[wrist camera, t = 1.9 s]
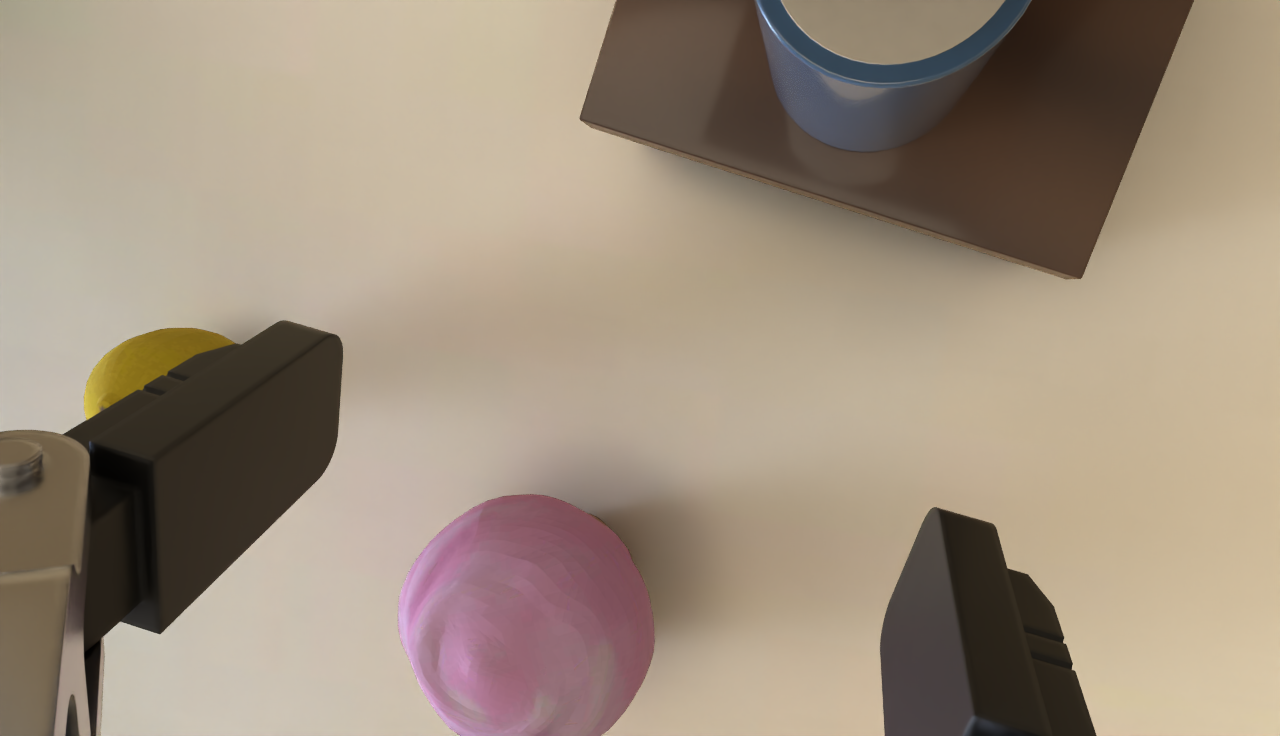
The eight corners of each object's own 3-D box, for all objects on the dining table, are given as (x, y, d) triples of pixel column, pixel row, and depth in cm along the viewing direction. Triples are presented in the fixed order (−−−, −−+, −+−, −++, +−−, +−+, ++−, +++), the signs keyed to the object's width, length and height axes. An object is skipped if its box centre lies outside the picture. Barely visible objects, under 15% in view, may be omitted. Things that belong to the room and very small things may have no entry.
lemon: (317, 355, 39) (191, 373, 31) (274, 469, 40) (141, 513, 32) (211, 303, 40) (62, 307, 32) (171, 415, 41) (17, 446, 33)
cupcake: (439, 526, 39) (311, 607, 29) (606, 424, 37) (530, 474, 27) (547, 706, 38) (454, 849, 29) (720, 612, 37) (685, 730, 27)
